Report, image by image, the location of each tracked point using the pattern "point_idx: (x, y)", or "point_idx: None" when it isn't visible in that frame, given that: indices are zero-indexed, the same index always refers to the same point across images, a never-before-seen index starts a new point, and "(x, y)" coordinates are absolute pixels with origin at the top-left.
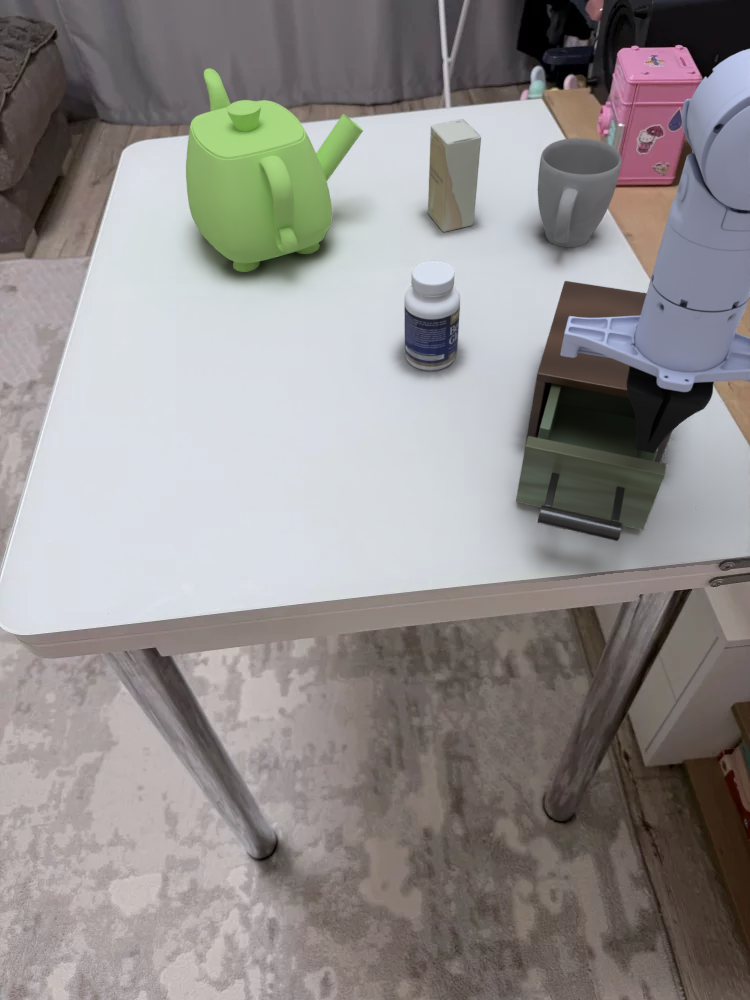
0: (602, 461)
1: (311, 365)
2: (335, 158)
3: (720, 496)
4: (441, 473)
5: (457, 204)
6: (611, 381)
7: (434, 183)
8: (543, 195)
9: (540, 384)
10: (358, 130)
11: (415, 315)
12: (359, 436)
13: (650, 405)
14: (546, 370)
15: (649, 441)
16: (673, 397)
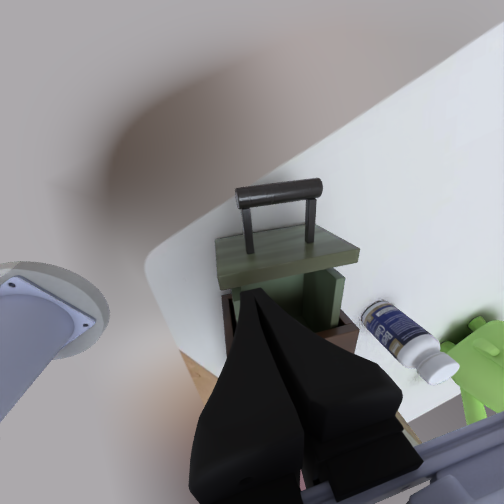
0: (284, 264)
1: (444, 274)
2: (474, 409)
3: (171, 297)
4: (362, 228)
5: None
6: None
7: (399, 414)
8: None
9: (347, 321)
10: None
11: (428, 334)
12: (416, 234)
13: (310, 360)
14: (352, 335)
15: (254, 300)
16: (295, 427)
